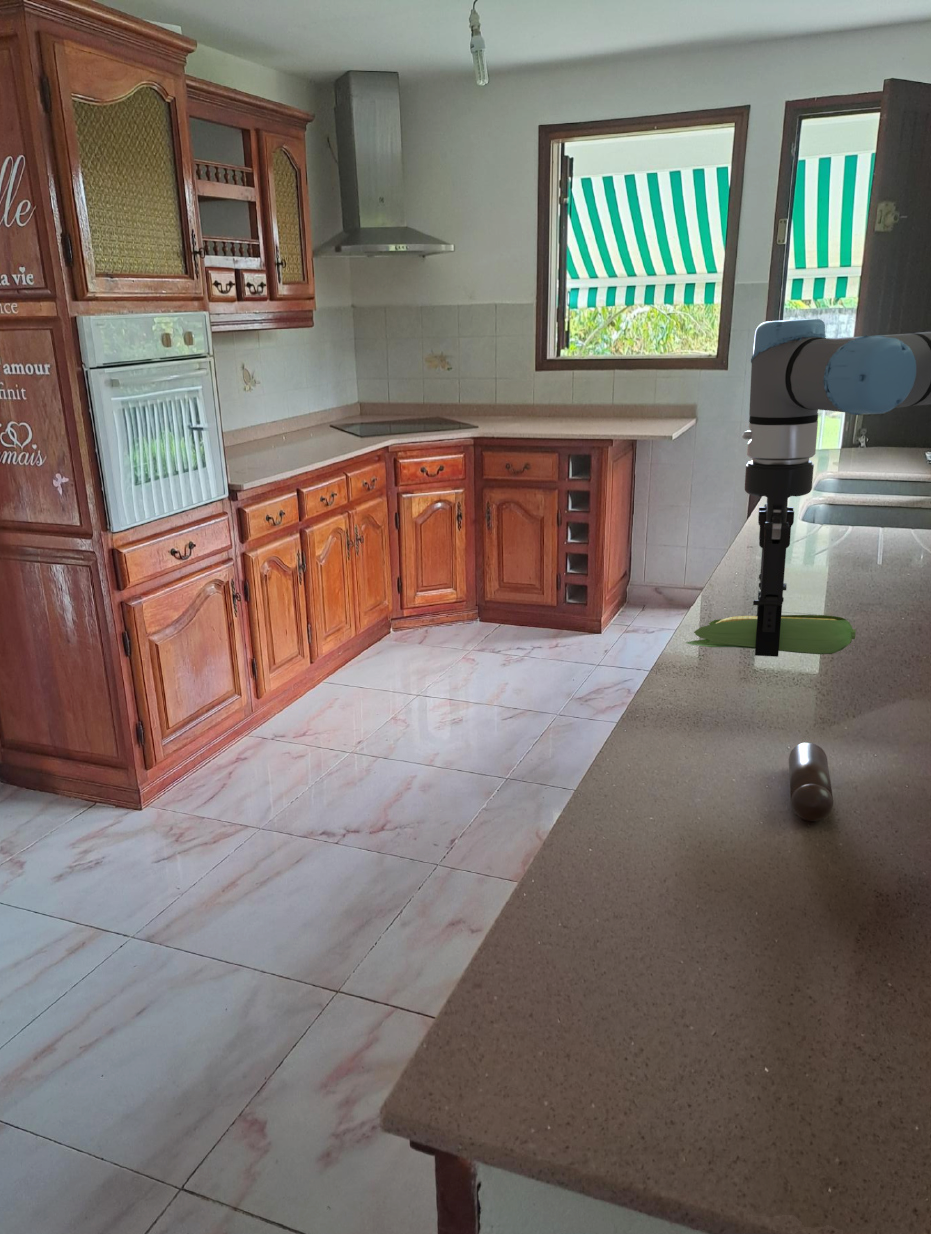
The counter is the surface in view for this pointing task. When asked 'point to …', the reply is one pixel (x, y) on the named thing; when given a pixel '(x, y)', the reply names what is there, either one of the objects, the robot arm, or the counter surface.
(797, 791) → the dark brown capsule
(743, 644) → the edible corn
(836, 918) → the counter surface
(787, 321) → the robot arm
